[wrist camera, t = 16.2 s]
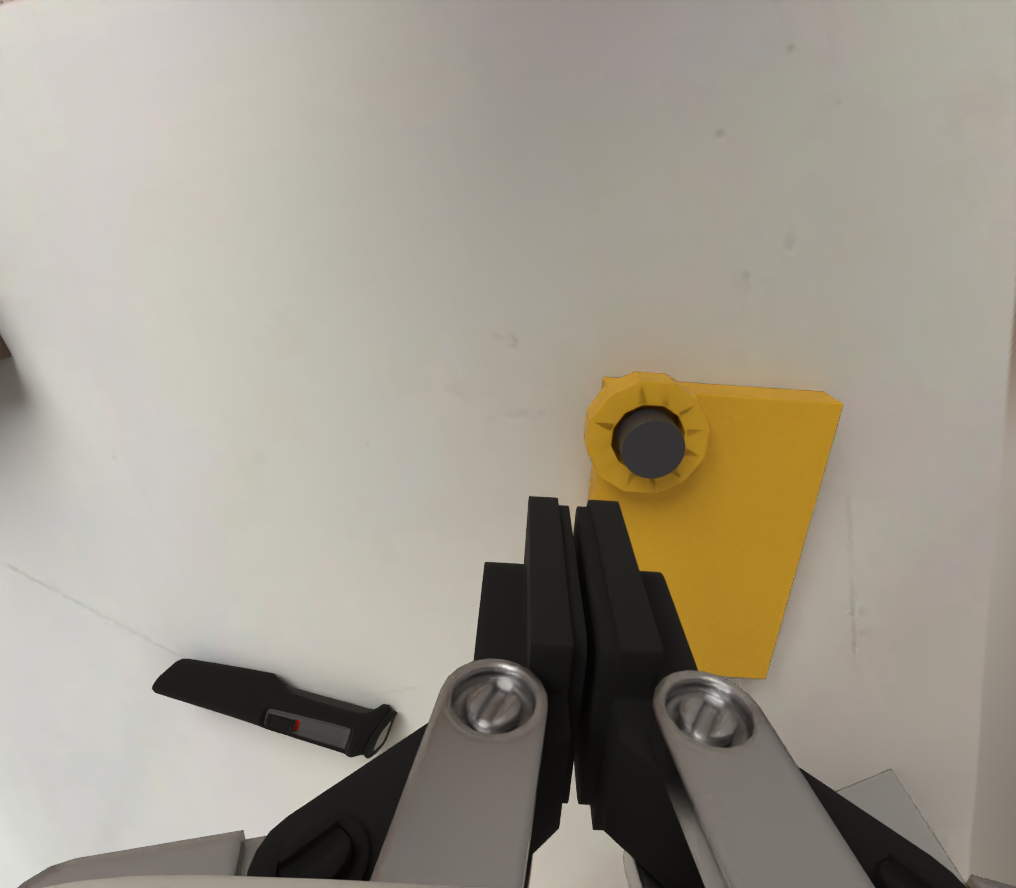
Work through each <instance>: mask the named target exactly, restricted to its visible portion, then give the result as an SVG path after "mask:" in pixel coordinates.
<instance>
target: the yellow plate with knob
mask: <svg viewBox="0 0 1016 888" xmlns="http://www.w3.org/2000/svg"><path fill="white" fill-rule="evenodd" d="M842 407H843V403H841V402H840V401H838V400H836V399H835V398H833V397H831V396H830V395H828V394H827V393H825V392H822V391H807V390H792V389H777V388H762V387H747V386H732V385H717V384H702V383H687V382H677V381H676V380H674V379H673V378H671V377H670V376H668V375H666V374H663V373H648V372H633V373H631V374H628V375H626V376H624V377H622V378H611V377H603V382H602V390H601V392H600V393H599V394H598V396H597V397H596V398H595V400H594V401H593V402H592V403H591V405H590V406H589V407H588V409H587V413H586V422H585V431H584V441H585V445H586V449H587V452H588V454H589V456H590V458H591V460H592V462H593V464H592V472H591V480H590V488H589V497H588V500H606V501H618V502H619V504H620V508H621V511H622V514H623V518H624V521H625V524H626V528H627V531H628V534H629V538H630V541H631V544H632V547H633V551H634V554H635V557H636V561H637V564H638V567H639V571H652V572H660V573H662V574H663V576H664V578H665V580H666V583H667V586H668V588H669V591H670V594H671V597H672V599H673V602H674V605H675V608H676V610H677V613H678V616H679V619H680V621H681V624H682V627H683V630H684V633H685V635H686V638H687V641H688V644H689V646H690V649H691V652H692V655H693V657H694V660H695V663H696V666H697V668H698V671H704V672H708V673H711V674H715V675H719V676H727V677H741V678H755V679H766V675H767V672H768V668H769V665H770V661H771V658H772V654H773V651H774V647H775V644H776V640H777V636H778V633H779V629H780V626H781V622H782V619H783V615H784V612H785V608H786V605H787V601H788V598H789V594H790V591H791V587H792V584H793V580H794V577H795V573H796V569H797V566H798V562H799V559H800V555H801V552H802V548H803V545H804V541H805V538H806V534H807V531H808V527H809V524H810V520H811V517H812V513H813V510H814V506H815V502H816V499H817V495H818V492H819V488H820V485H821V481H822V478H823V474H824V471H825V467H826V464H827V460H828V457H829V453H830V450H831V446H832V443H833V439H834V435H835V432H836V428H837V425H838V421H839V418H840V414H841V411H842ZM642 409H656V410H660V411H662V412H664V413H666V414H667V415H668V416H669V417H670V418H671V419H672V420H673V421H674V423H675V424H676V426H677V427H678V429H679V430H680V432H681V433H682V435H683V437H684V440H685V454H684V457H683V459H682V461H681V463H680V464H679V466H678V467H677V468H676V469H675V470H674V471H672V472H671V473H669V474H667V475H665V476H663V477H659V478H643V477H640V476H637V475H635V474H633V473H632V472H631V471H630V470H629V469H628V468H627V467H626V466H625V464H624V462H623V459H622V457H621V454H620V451H619V449H618V446H617V432H618V429H619V427H620V425H621V423H622V422H623V421H624V420H625V418H627V417H628V416H629V415H630V414H632V413H634V412H636V411H639V410H642Z"/></svg>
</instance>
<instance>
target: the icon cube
mask: <svg viewBox="0 0 1016 888" xmlns="http://www.w3.org/2000/svg"><path fill="white" fill-rule="evenodd" d="M837 793H838V794H840V795H841V796H843V797H844V798H846V799H847V800H849V801H850V802H852V803H853V804H855V805H856V806H858V807H859V808H861V809H862V810H864V811H865V812H867V813H868V814H870V815H871V816H873V817H874V818H876V819H877V820H879V821H880V822H882V823H883V824H885V825H886V826H888V827H889V828H891V829H892V830H894V831H895V832H897V833H898V834H900V835H901V836H903V837H904V838H906V839H907V840H908V841H910V842H911V843H913V844H914V845H916V846H917V847H919V848H920V849H922V850H923V851H925V852H926V853H928V854H929V855H931V856H932V857H933V858H935V859H936V860H937V861H938V862H940V863H941V864H942V865H944V866H945V867H946V868H947V869H949V870H950V871H951V872H952V873H953V874H954V875H955V876H956V877H957V878H958V879H959V880H960V881H961V882H963V883H965V881H964V880H963V878H962V877H961V875H960V874H959V872H958V871H957V869H956V868H955V866H954V864H953V863H952V861H951V860H950V858H949V857H948V855H947V854H946V852H945V851H944V849H943V847H942V846H941V844H940V843H939V841H938V840H937V838H936V837H935V835H934V834H933V832H932V831H931V829H930V828H929V826H928V825H927V823H926V822H925V820H924V818H923V817H922V815H921V814H920V812H919V811H918V809H917V808H916V806H915V805H914V803H913V802H912V800H911V799H910V797H909V796H908V794H907V793H906V791H905V789H904V788H903V786H902V785H901V783H900V782H899V780H898V779H897V777H896V776H895V774H894V773H893V771H892V770H888V771H886V772H883V773H881V774H878V775H876V776H873V777H871V778H869V779H866V780H864V781H861V782H859V783H856V784H854V785H852V786H849V787H847V788H844V789H842V790H839V791H837Z"/></svg>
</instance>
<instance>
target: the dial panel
mask: <svg viewBox="0 0 1016 888" xmlns="http://www.w3.org/2000/svg"><path fill="white" fill-rule="evenodd" d="M8 357H11V354H10V352H9V351H8V349H7V347H6V345H5V343H4V341H3V340H2V338H1V336H0V359H4V358H8Z"/></svg>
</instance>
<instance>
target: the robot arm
mask: <svg viewBox="0 0 1016 888" xmlns="http://www.w3.org/2000/svg"><path fill="white" fill-rule="evenodd" d="M573 762H574V767H575V778H576V790H577V800H578V803H579V804H584V805H590V808H591V817H592V827H593V830H604V831H605V832H606V833H607V834H608V835H609V836H610V837H611V838H612V839H613V840H614V841H615V842H616V843H618V844H619V845H620V846H621V847H622V848H623V849H624V853H623V862H624V869H625V874H626V878H627V881H628V885H629V888H1016V887H1015V886H1011V885H1008V884H1004V883H1000V882H997V881H993V880H989V879H986V878H982V877H979V876H975V875H970V877H969V879H968V881H967V882H966V883H963V882H961V881H960V880H959V879H958V878H957V877H956V876H955V875H954V874H953V873H952V872H951V871H950V870H949V869H947V868H946V867H945V866H944V865H942V864H941V863H940V862H938V861H937V860H936V859H935V858H933V857H932V856H931V855H929V854H928V853H926V852H925V851H923V850H922V849H920V848H919V847H917V846H916V845H914V844H913V843H911V842H910V841H908V840H907V839H906V838H904V837H903V836H901V835H900V834H898V833H897V832H895V831H894V830H892V829H891V828H889V827H888V826H886V825H885V824H883V823H882V822H880V821H879V820H877V819H876V818H874V817H873V816H871V815H870V814H868V813H867V812H865V811H864V810H862V809H861V808H859V807H858V806H856V805H855V804H853V803H852V802H850V801H849V800H847V799H846V798H844V797H843V796H841V795H840V794H838V793H837V792H835V791H834V790H832V789H831V788H829V787H828V786H826V785H825V784H823V783H822V782H820V781H819V780H817V779H816V778H814V777H813V776H811V775H810V774H808V773H807V772H805V771H804V770H802V769H801V768H799V767H798V766H797V765H796V763H795V761H794V760H793V758H792V757H791V755H790V754H789V752H788V750H787V749H786V747H785V746H784V744H783V743H782V741H781V739H780V738H779V736H778V735H777V733H776V732H775V730H774V728H773V727H772V725H771V724H770V722H769V721H768V719H767V718H766V716H765V714H764V713H763V711H762V710H761V708H760V707H759V706H758V704H757V703H756V702H755V701H754V700H753V698H752V697H751V696H750V695H749V694H748V693H747V692H745V691H744V690H743V689H742V688H740V687H739V686H738V685H736V684H735V683H733V682H731V681H729V680H727V679H725V678H723V677H721V676H719V675H715V674H711V673H708V672H704V671H698V668H697V666H696V663H695V660H694V657H693V655H692V652H691V649H690V646H689V644H688V641H687V638H686V635H685V633H684V630H683V627H682V624H681V621H680V619H679V616H678V613H677V610H676V608H675V605H674V602H673V599H672V597H671V594H670V591H669V588H668V586H667V583H666V580H665V578H664V576H663V574H662V573H660V572H652V571H639V567H638V564H637V561H636V557H635V554H634V551H633V547H632V544H631V541H630V538H629V534H628V531H627V528H626V524H625V521H624V518H623V514H622V511H621V508H620V504H619V502H618V501H606V500H588V503H587V507H579V506H577V509H576V515H575V524H574V534H573V533H572V525H571V518H570V511H569V506H561V505H559V504H558V498H553V497H535V496H529V501H528V514H527V528H526V542H525V556H524V564H514V563H496V562H485V565H484V573H483V582H482V591H481V600H480V608H479V617H478V626H477V635H476V644H475V653H474V661H472V662H470V663H468V664H466V665H463V666H461V667H459V668H458V669H457V670H455V671H454V672H453V673H452V674H451V675H450V676H448V678H447V679H446V681H445V683H444V684H443V686H442V688H441V690H440V693H439V695H438V698H437V701H436V703H435V706H434V709H433V712H432V714H431V717H430V720H429V722H428V723H427V724H426V725H424V726H423V727H421V728H420V729H418V730H417V731H415V732H414V733H412V734H411V735H409V736H408V737H406V738H405V739H403V740H402V741H400V742H399V743H397V744H396V745H394V746H393V747H391V748H390V749H388V750H387V751H385V752H384V753H382V754H381V755H379V756H378V757H376V758H375V759H373V760H372V761H370V762H369V763H367V764H366V765H364V766H363V767H361V768H360V769H358V770H357V771H355V772H354V773H352V774H351V775H349V776H347V777H346V778H344V779H343V780H341V781H340V782H338V783H337V784H335V785H334V786H332V787H331V788H329V789H328V790H326V791H325V792H323V793H322V794H320V795H319V796H317V797H316V798H314V799H313V800H311V801H310V802H308V803H307V804H305V805H304V806H302V807H301V808H299V809H298V810H296V811H295V812H293V813H292V814H290V815H289V816H288V817H286V818H285V819H284V820H283V821H282V822H280V823H279V824H278V825H277V826H276V827H275V828H273V829H272V830H271V831H270V832H269V834H268V835H267V836H263V837H257V838H251V839H245V835H244V830H241V831H235V832H229V833H223V834H218V835H212V836H206V837H200V838H194V839H188V840H182V841H176V842H170V843H164V844H158V845H152V846H146V847H140V848H135V849H129V850H123V851H117V852H111V853H105V854H99V855H93V856H87V857H81V858H75V859H72V860H69V861H66V862H63V863H60V864H57V865H54V866H50V867H49V868H47V869H45V870H44V871H42V872H40V873H39V874H37V875H35V876H34V877H32V878H30V879H29V880H27V881H25V882H24V883H22V884H21V885H20V886H19V887H18V888H529V883H530V876H531V869H532V860H533V853H534V852H535V851H536V850H537V849H538V848H539V847H540V846H541V845H542V844H543V843H544V842H546V841H547V840H548V839H549V838H550V837H551V836H552V835H553V834H554V833H555V832H556V831H557V830H558V829H559V825H560V817H561V809H562V803H568V800H569V793H570V785H571V778H572V770H573Z"/></svg>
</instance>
